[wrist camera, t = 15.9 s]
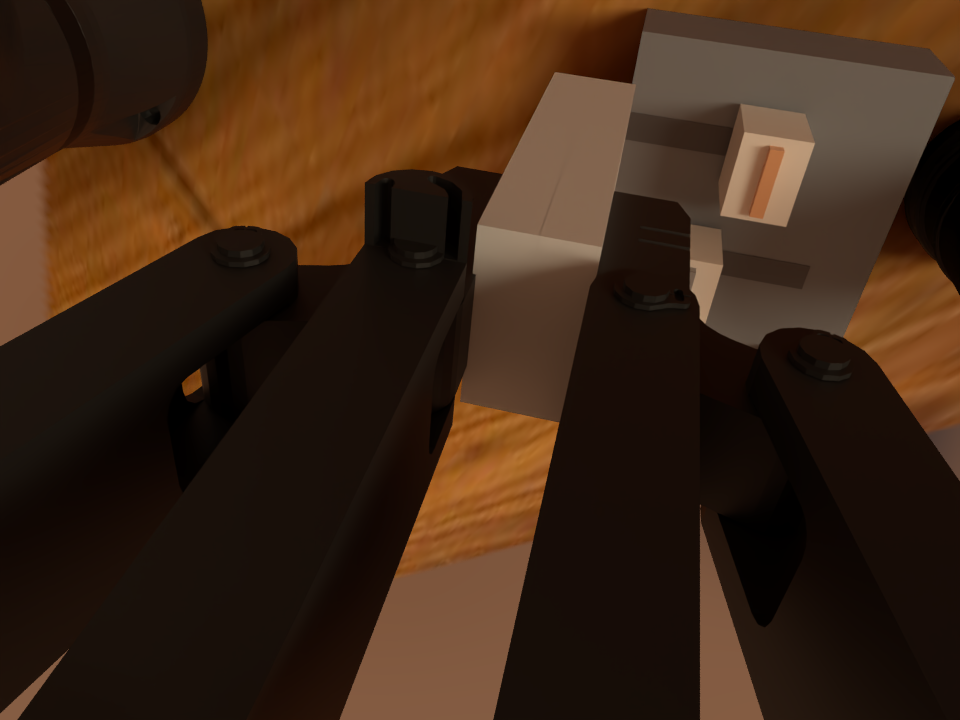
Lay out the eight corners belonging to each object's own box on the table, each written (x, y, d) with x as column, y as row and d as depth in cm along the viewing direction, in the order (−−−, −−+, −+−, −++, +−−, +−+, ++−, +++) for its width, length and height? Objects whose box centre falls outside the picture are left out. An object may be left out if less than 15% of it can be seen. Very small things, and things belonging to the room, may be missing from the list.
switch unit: (578, 357, 55) (568, 401, 51) (647, 8, 42) (642, 31, 38) (787, 398, 53) (795, 448, 49) (929, 48, 40) (955, 77, 36)
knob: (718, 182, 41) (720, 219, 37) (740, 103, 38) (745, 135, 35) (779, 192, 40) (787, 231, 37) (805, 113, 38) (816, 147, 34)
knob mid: (647, 284, 45) (643, 327, 41) (663, 219, 42) (660, 259, 39) (701, 294, 44) (702, 339, 41) (721, 229, 42) (723, 270, 38)
